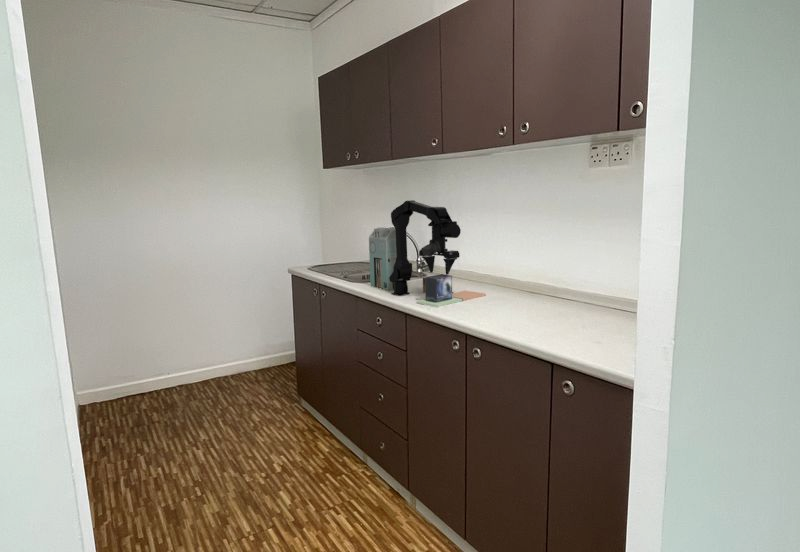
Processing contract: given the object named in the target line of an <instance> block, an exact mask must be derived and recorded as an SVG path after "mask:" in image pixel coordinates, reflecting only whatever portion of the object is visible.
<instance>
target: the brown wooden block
mask: <svg viewBox="0 0 800 552" xmlns="http://www.w3.org/2000/svg"><path fill="white" fill-rule="evenodd" d="M426 277H427V276H425V277H422V293H425V294H426ZM452 293H455V292H454V291H452Z"/></svg>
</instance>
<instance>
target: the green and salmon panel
mask: <svg viewBox="0 0 800 552" xmlns="http://www.w3.org/2000/svg"><path fill="white" fill-rule="evenodd" d="M485 296H486V293H484V292H478V291H472V290H461V291H457V292H454V293H452V299H450V300H445V301H441V302H431V301H426V298H425V299H420V300H416V304H417V303H418V304H419V305H424V306H428V305H429V307H435V308H438V307H439V308H440V307H443V306H448V305H452V304H456V303H460V302H464V301H465V302H466V301H468V300H473V299H477V298H481V297H485Z"/></svg>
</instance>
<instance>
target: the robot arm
mask: <svg viewBox="0 0 800 552" xmlns="http://www.w3.org/2000/svg"><path fill="white" fill-rule="evenodd" d="M414 213H417V214H420V215H424V216H425V217H426V218H427V219H428V220H430V222H429V223H428V225H427V227H431V239H429V241H428V242H429V244H426V245H424V246H423V247H422V248H421V249H419V251H418V255H419V256H420V257H421V258H422V259H424V261H425V263H426V264H427V267H428V270H429V273H433V271H434V267H435V261H436V260H435V258H436V256H439V257H443V258H442V260H443V262H444V264H445V266H444V267H445V270H444V271H445V275H449V274H450V271H451V269H452V267H453V265H454V263H455V261H456V260H457V259H458V258H460V252H459V250H455V249H454V250H452V249H451V250H448V248H446V243H447V242H448V238H450V239H457V238H459V236H460V235H461V231H462V230H461V228H460V226H459V224H458V222H457V221H454V220H452V218H451V215H450V214H449V212H448V210H447V208H446V207H445V206H431V205H427V204H424V203H422V202H418V201H416V200H410V199H409V200H405V201H404V202H403V203H402V204H400V205H399V206H397V207H395V208H394V209H393V210H392V211H391V212H390V219H391V224H392V225H393V228H395V230H396V254H397V260H396V262H395V264H394V269H393V273H392V274H391V276H390V277H389V279H390V282H393V288H394V290H393V292H391V293H390V294H391V295H395V296H405V295H409V294H411V293H410V292H409V289H408V281H411V278H412V274H413V272H414V271H413V264H412V262H410V261H409V259H408V240H407V239H408V238H407V228H408V225H409V224H410V218H411V216H412V215H413V214H414Z"/></svg>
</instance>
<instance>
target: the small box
mask: <svg viewBox="0 0 800 552" xmlns="http://www.w3.org/2000/svg"><path fill="white" fill-rule="evenodd" d="M425 277H426V293H425V299H426V301H431V302H441V301H445V300H450V299H452V292H453V275H449V274H448V275H446V274H443V273H441V274H435V275H429V276H425Z"/></svg>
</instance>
